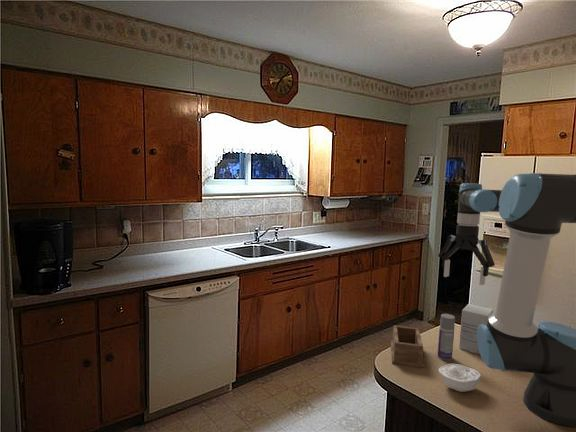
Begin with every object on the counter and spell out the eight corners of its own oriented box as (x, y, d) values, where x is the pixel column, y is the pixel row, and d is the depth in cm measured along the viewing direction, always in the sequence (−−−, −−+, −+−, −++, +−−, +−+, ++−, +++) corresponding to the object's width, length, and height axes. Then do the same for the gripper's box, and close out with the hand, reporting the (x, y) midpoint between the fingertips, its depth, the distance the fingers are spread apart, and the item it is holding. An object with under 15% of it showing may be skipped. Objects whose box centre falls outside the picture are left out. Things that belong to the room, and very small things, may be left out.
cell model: (487, 396, 109) (490, 374, 108) (448, 398, 108) (450, 376, 107) (467, 377, 119) (469, 357, 118) (431, 379, 118) (432, 358, 117)
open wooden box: (423, 367, 124) (425, 347, 124) (392, 363, 127) (393, 343, 126) (418, 345, 140) (419, 327, 140) (390, 342, 143) (391, 324, 142)
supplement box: (464, 340, 146) (468, 303, 144) (490, 347, 141) (494, 308, 139) (458, 348, 139) (461, 309, 137) (484, 356, 134) (488, 315, 132)
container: (439, 352, 135) (442, 312, 134) (453, 356, 133) (456, 315, 131) (435, 357, 131) (439, 316, 130) (450, 362, 129) (453, 319, 127)
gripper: (508, 228, 134) (502, 286, 136) (441, 220, 153) (437, 271, 155) (499, 229, 129) (494, 290, 131) (431, 221, 148) (427, 274, 151)
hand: (463, 280), depth 143 cm, fingers open, 13 cm apart
